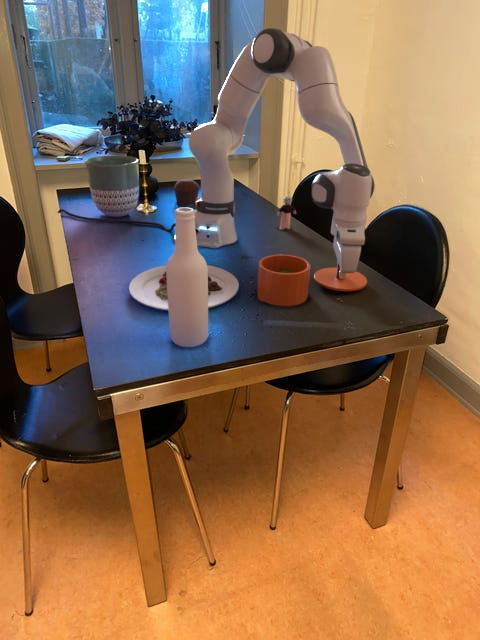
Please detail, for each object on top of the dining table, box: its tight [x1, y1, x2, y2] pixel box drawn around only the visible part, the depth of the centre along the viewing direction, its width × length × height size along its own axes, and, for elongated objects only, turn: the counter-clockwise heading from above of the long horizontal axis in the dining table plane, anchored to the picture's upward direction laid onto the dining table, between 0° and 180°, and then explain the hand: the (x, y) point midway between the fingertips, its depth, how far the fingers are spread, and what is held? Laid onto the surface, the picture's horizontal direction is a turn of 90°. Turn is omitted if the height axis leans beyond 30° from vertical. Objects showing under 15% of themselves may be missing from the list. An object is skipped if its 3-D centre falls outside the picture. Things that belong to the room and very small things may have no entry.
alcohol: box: [166, 206, 209, 348], centre depth 100 cm, size 9×9×30 cm
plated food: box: [128, 264, 240, 311], centre depth 128 cm, size 30×30×3 cm
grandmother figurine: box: [276, 194, 297, 231], centre depth 176 cm, size 8×4×13 cm, turn 117°
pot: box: [256, 254, 311, 307], centre depth 125 cm, size 14×14×10 cm
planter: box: [84, 155, 140, 218], centre depth 184 cm, size 20×20×21 cm
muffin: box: [172, 178, 201, 206], centre depth 205 cm, size 12×11×10 cm
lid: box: [313, 263, 368, 292], centre depth 132 cm, size 15×15×6 cm
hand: (340, 275), depth 132 cm, fingers closed on lid, 2 cm apart
